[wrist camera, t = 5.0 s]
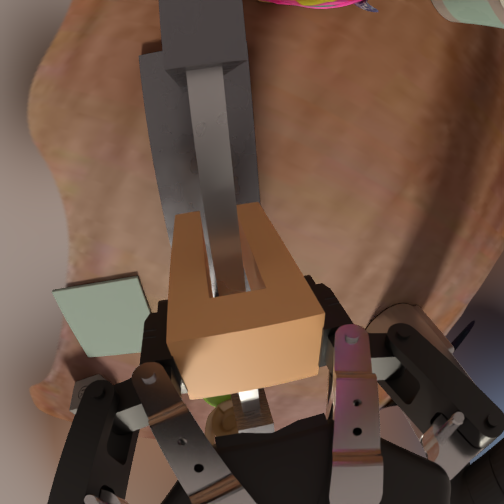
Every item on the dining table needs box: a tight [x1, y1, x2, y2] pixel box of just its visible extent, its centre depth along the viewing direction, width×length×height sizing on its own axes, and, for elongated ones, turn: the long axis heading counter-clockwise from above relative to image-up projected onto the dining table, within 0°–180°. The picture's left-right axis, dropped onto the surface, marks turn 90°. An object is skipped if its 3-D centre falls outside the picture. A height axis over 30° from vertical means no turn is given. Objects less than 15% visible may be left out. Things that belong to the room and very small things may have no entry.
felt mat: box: [52, 276, 151, 357], centre depth 29 cm, size 10×10×1 cm
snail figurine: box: [203, 394, 239, 445], centre depth 31 cm, size 5×6×12 cm
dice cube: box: [69, 374, 106, 414], centre depth 32 cm, size 5×5×5 cm
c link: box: [166, 202, 325, 400], centre depth 15 cm, size 5×4×11 cm, turn 94°
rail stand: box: [139, 0, 274, 433], centre depth 19 cm, size 8×26×15 cm, turn 4°
